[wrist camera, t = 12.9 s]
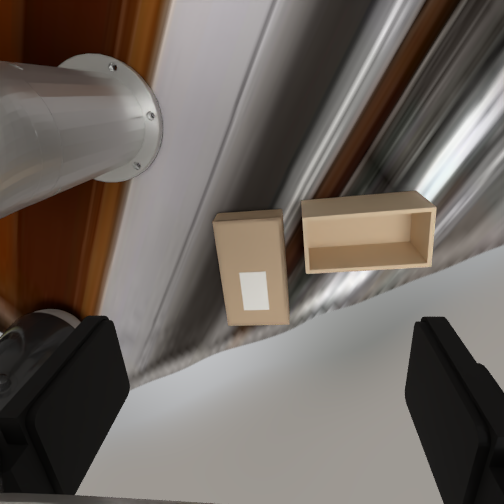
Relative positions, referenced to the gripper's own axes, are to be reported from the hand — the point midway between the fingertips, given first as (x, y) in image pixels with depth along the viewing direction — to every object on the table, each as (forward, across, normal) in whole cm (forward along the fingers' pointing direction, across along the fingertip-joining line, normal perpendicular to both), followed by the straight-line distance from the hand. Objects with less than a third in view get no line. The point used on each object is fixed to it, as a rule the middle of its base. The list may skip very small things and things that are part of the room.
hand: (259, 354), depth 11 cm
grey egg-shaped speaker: (+30, +31, +21) cm, 48 cm away
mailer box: (+30, -8, +6) cm, 31 cm away
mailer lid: (+30, +3, +11) cm, 32 cm away
